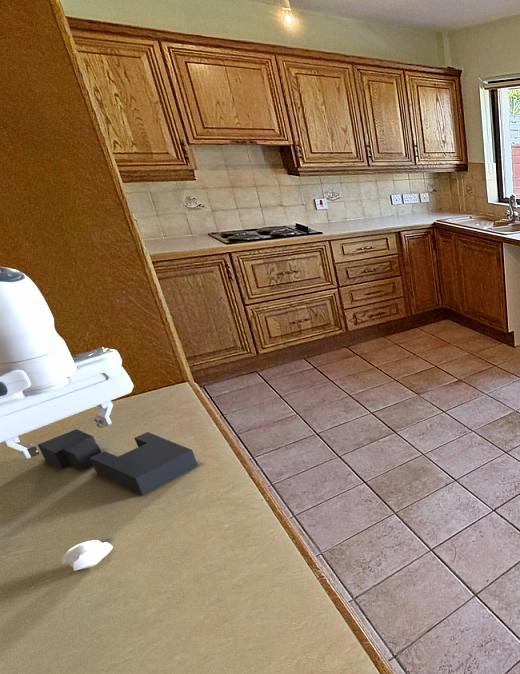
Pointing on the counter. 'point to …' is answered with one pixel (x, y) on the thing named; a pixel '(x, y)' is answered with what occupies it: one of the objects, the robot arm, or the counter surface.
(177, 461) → the base pad
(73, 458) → the pad
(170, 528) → the counter surface
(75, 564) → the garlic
